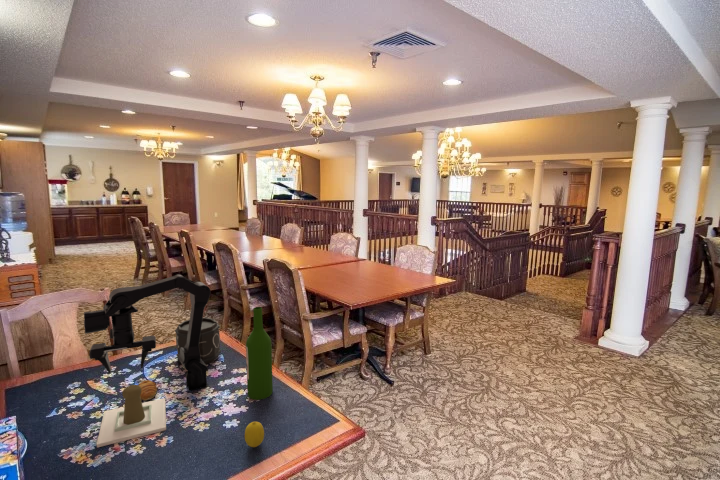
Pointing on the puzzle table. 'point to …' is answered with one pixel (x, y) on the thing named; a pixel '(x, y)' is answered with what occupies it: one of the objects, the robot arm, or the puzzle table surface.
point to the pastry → (147, 390)
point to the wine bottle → (259, 360)
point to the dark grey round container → (201, 339)
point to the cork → (133, 405)
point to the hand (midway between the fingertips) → (126, 370)
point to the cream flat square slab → (118, 431)
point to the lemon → (254, 434)
